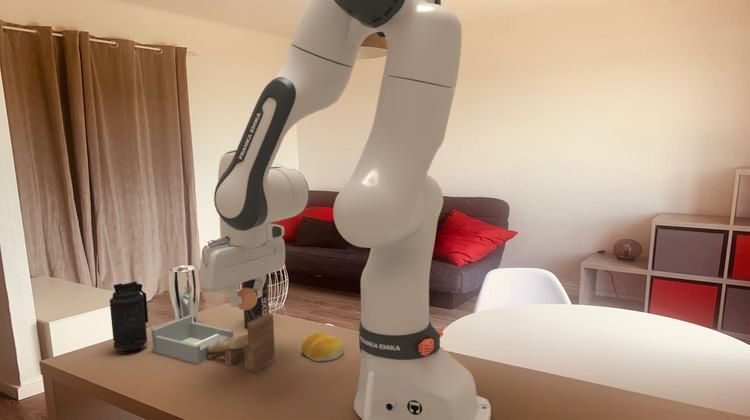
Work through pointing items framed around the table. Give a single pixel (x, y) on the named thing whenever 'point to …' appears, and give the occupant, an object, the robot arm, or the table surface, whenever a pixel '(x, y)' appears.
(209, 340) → the grey tray
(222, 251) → the robot arm
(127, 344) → the grenade
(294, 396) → the table surface
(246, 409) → the table surface
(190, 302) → the beer glass
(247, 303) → the ball
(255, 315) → the deodorant
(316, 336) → the bread roll
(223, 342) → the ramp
